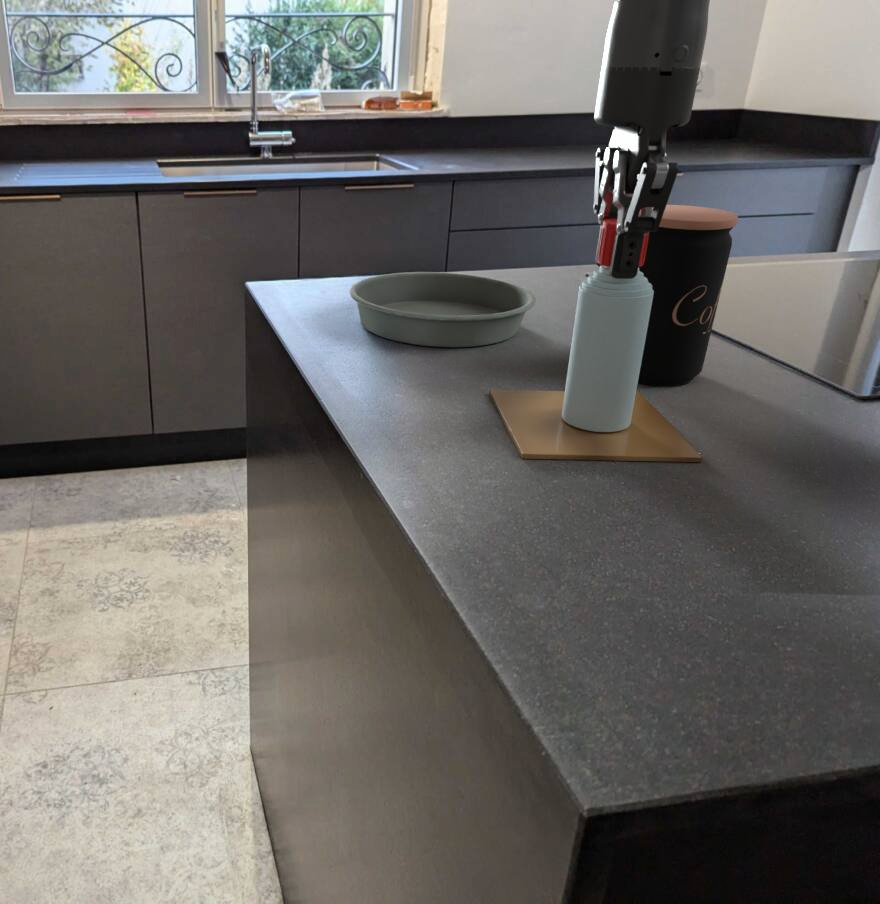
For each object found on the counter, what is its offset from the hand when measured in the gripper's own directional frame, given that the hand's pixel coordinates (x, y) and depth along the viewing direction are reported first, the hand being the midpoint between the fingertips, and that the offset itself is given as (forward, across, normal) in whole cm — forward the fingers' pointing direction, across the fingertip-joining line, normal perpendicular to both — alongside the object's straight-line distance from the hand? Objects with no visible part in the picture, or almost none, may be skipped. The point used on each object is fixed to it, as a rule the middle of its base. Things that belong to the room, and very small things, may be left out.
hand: (614, 271), depth 75 cm
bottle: (+15, 0, +1) cm, 15 cm away
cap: (-1, 0, 0) cm, 1 cm away
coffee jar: (+15, -16, +12) cm, 25 cm away
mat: (+15, 0, 0) cm, 15 cm away
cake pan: (+15, -34, -10) cm, 39 cm away
